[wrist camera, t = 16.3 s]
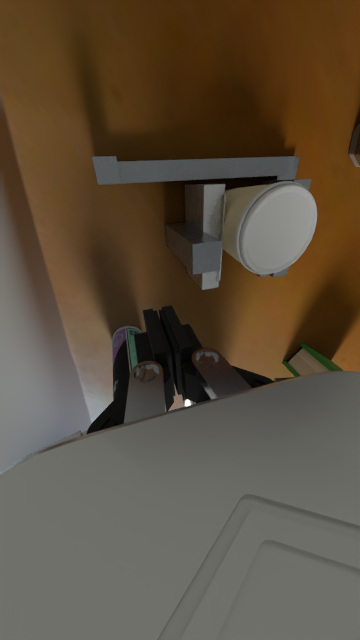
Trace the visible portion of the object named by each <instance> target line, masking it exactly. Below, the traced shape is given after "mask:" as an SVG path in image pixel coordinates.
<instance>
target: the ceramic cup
mask: <svg viewBox="0 0 360 640" xmlns="http://www.w3.org/2000/svg"><path fill="white" fill-rule="evenodd" d="M349 156H350V158H351V160H352V161H353V163H354V165H355V166H357V167H360V123H359V124H358V125H357V127H356V128H355V130H354V131H353V135H352V140H351V144H350V149H349Z"/></svg>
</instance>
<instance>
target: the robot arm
mask: <svg viewBox="0 0 360 640" xmlns="http://www.w3.org/2000/svg"><path fill="white" fill-rule="evenodd" d="M143 314H144V320H145V326H146V332H144V333H139V334H134V340H135V347H136V355H137V362H138V364H137V365H136V366H134V367H133V369H132V370H131V372H130V378H129V385H128V386H127V387H126V388H125V389H124V390H123V391H122V392H121V393H120V395H119V396H118V397H117V398H116V399H115V400H114V401H113V402H112V403H111V404H110V405H109V406H108V407H107V408H106V409H105V410H104V411H103V412H102V413H101V414H100V415H99V416H98V417H97V419H96V420H95V421H94V422H93V423H92V424H91V426H90V427H89V429H88V430H86V431H84V432H82V433H81V431H78V432H76V433H74V434H72V435H69V436H67V437H65V438H63V439H61V440H59V441H57V442H55V443H53V444H50V445H48V446H46V447H44V448H42V449H40V450H38V451H36V452H34V453H31V454H29V455H28V456H26V457H24V458H23V459H21V460H19V461H18V462H16V463H14V464H13V465H11V466H9V467H8V468H6V469H4V470H3V471H1V472H0V640H360V372H353V371H326V372H319V373H313V374H309V375H304V376H299V377H287V378H275V379H274V381H272V380H271V379H269V378H267V377H265V376H262V375H259V374H256V373H253V372H249V371H246V370H243V369H240V368H237V367H234V366H231V365H230V364H229V363H228V361H227V360H226V359H225V358H224V357H223V356H222V355H221V354H220V353H219V352H218V351H216V350H214V349H209V348H203V347H202V346H201V344H200V342H199V340H198V339H197V337H196V335H195V333H194V332H193V330H192V328H191V326H190V325H189V324H186V325H181V323H180V321H179V319H178V317H177V315H176V313H175V311H174V309H173V307H172V306H166V307H162V310H159V315H160V319H159V316H158V314H157V311H153V309H148V310H143ZM174 384H175V387H176V390H177V393H178V395H180V394H182V397H183V400H184V401H183V402H184V406H185V407H182V408H179V409H175V410H171V411H168V410H169V409H170V407H171V406H172V404H173V403H174V398H173V396H175V387H174Z"/></svg>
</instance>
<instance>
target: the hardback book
mask: <svg viewBox="0 0 360 640" xmlns="http://www.w3.org/2000/svg"><path fill="white" fill-rule="evenodd" d="M300 346H301V347H302V349H301V350H300V351H299V352H298V353H297V354H296V355H295V356H294V357H293V358H292V359H291V360H290V361H289V362H287V361H285V360H284V361H283V362H282V363H283V364H284V365H285V366H286V367H287V368H288V369H289V371H290V372H291V373H292V374H293V375H294V376H295V377H299V376H304V375H309V374H313V373H319V372H326V371H343V370H342V369H341V368H340V367H338V366H337V365H336V364H335V363H333V362H332V361H331V360H329V359H328V358H326V357H324V356H323V355H321V354H320V353H318V352H316V351H315V350H313V349H312V348H310V347H308V346H307V345H305V344H304V343H302V344H301V345H300Z"/></svg>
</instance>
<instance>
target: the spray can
mask: <svg viewBox="0 0 360 640" xmlns="http://www.w3.org/2000/svg"><path fill="white" fill-rule="evenodd" d="M139 333H142V332H141V330H140V329H138V328H137V327H134V326H124V327H121V328H119V329H118V330H116V331H115V333H114V334H113V339H112V344H113V397H114V400H115V399H116V398H117V397H118V396H119V395H120V393H121V392H122V391H123V390H124V389H125V388H126V387H127V386H128V385H129V378H130V372H131V370H132V369H133V367H134V366H136V365H137V364H138V362H137V355H136V347H135V340H134V334H139Z"/></svg>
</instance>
